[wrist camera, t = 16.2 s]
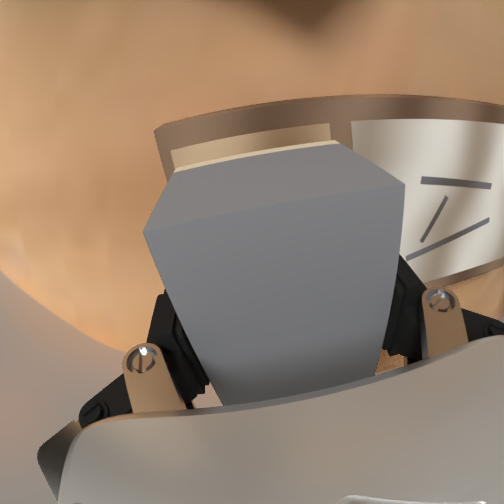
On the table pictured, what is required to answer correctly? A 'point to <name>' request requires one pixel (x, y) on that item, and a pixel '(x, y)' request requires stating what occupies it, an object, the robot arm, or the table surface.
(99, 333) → the table surface
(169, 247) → the block
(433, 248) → the board
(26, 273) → the table surface
